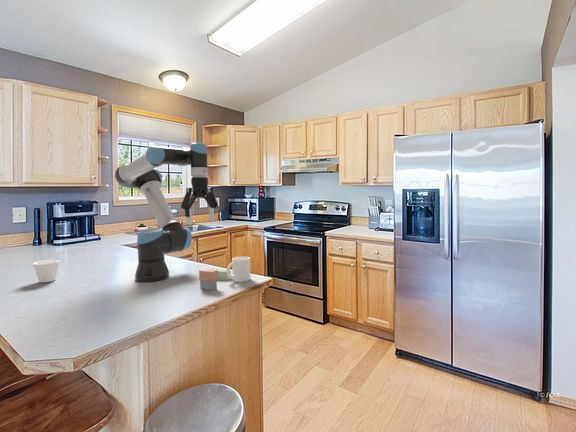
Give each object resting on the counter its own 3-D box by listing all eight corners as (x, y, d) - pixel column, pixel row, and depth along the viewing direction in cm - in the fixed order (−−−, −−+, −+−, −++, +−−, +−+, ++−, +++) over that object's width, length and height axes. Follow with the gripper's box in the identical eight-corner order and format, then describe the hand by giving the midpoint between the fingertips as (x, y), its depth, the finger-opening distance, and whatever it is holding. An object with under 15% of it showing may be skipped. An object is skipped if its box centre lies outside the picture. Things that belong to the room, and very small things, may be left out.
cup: (65, 279, 152) (63, 260, 151) (41, 285, 143) (40, 265, 142) (52, 277, 156) (51, 258, 155) (29, 283, 147) (27, 263, 146)
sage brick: (214, 279, 150) (213, 271, 150) (217, 277, 154) (216, 269, 154) (228, 280, 149) (227, 271, 149) (230, 278, 153) (230, 269, 152)
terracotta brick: (199, 279, 136) (199, 270, 135) (204, 277, 139) (204, 268, 139) (213, 281, 133) (213, 272, 133) (218, 279, 136) (217, 270, 136)
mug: (231, 285, 140) (230, 262, 139) (222, 281, 147) (221, 259, 146) (253, 280, 148) (253, 258, 147) (244, 276, 154) (243, 255, 153)
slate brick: (200, 288, 137) (199, 279, 137) (207, 286, 140) (206, 277, 140) (209, 291, 133) (209, 282, 132) (216, 289, 135) (216, 280, 135)
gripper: (182, 176, 135) (184, 225, 137) (224, 177, 156) (225, 220, 158) (171, 176, 139) (173, 224, 141) (213, 177, 160) (215, 219, 162)
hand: (201, 222), depth 149 cm, fingers open, 13 cm apart
